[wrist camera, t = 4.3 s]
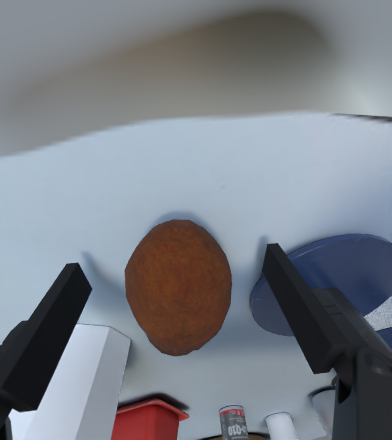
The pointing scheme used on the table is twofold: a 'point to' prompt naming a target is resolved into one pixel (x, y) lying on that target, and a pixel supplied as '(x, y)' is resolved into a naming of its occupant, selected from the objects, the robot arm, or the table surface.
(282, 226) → the table surface
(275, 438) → the cup
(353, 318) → the lid
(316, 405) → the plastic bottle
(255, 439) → the bread
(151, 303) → the potato
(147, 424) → the butter dish
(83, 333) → the mug
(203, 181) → the table surface
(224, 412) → the pill bottle
